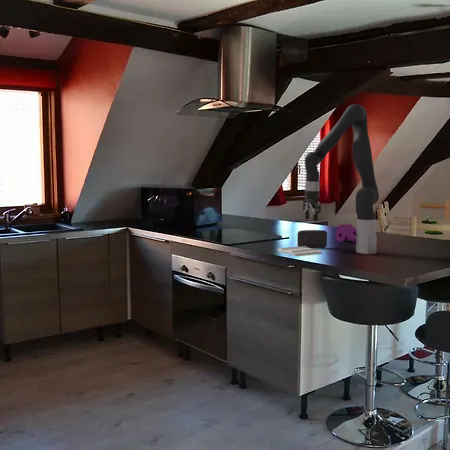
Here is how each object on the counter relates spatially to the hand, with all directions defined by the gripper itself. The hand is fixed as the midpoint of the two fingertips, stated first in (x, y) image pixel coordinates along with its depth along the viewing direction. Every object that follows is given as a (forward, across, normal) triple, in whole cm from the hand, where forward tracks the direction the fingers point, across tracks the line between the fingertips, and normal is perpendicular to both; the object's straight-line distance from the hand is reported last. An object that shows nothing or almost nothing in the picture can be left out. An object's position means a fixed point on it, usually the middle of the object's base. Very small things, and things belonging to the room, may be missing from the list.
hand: (311, 220), depth 291 cm
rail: (+14, -10, +13) cm, 21 cm away
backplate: (+15, -10, +12) cm, 22 cm away
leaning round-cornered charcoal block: (+15, -1, -1) cm, 15 cm away
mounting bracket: (+15, +8, -33) cm, 37 cm away
